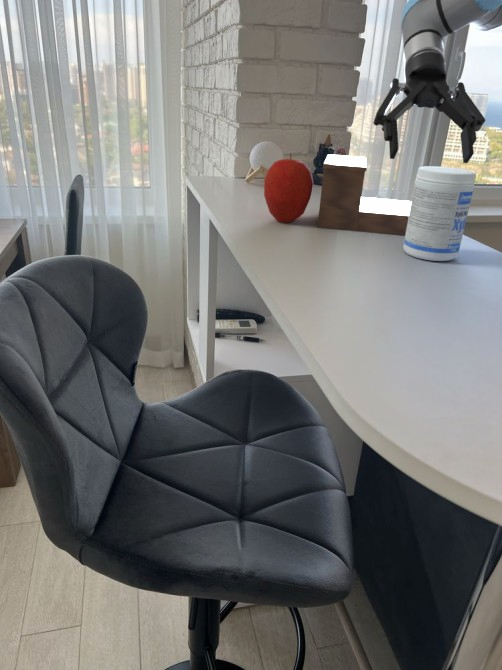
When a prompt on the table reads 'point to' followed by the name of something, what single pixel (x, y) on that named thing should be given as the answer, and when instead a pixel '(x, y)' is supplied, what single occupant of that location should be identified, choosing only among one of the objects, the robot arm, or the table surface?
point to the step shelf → (357, 200)
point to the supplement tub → (438, 212)
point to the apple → (288, 189)
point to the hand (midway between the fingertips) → (431, 156)
